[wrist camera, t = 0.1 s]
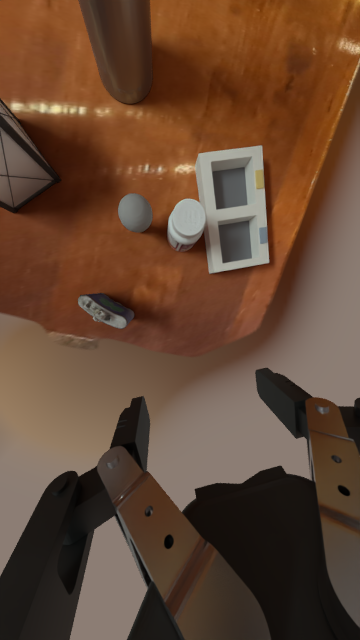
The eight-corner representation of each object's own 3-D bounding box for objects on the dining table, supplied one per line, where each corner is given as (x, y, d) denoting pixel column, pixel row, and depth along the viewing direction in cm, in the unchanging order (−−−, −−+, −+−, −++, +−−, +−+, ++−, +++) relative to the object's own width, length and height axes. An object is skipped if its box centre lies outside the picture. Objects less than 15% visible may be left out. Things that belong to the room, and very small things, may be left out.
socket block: (195, 166, 35) (199, 152, 31) (252, 158, 36) (262, 144, 32) (209, 273, 39) (214, 272, 36) (260, 264, 40) (270, 262, 37)
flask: (136, 312, 40) (127, 322, 29) (130, 323, 40) (118, 337, 29) (98, 289, 38) (74, 292, 27) (92, 301, 38) (66, 308, 28)
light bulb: (156, 218, 36) (155, 193, 26) (150, 245, 37) (146, 231, 27) (130, 209, 35) (118, 180, 26) (124, 236, 36) (110, 219, 26)
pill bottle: (199, 228, 37) (216, 205, 26) (188, 256, 38) (200, 245, 27) (172, 216, 36) (178, 186, 25) (162, 245, 37) (163, 228, 26)
